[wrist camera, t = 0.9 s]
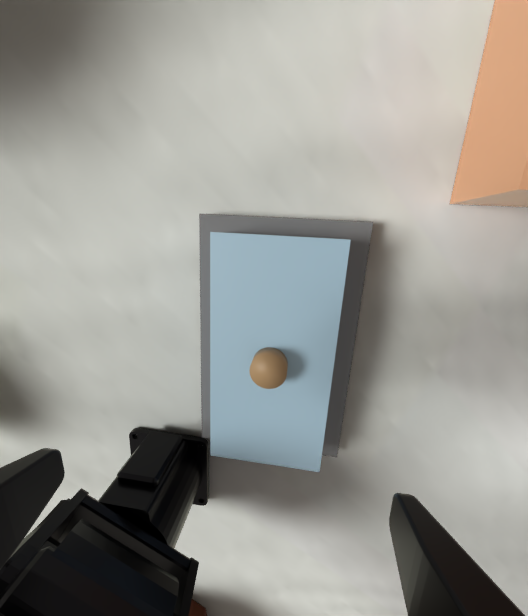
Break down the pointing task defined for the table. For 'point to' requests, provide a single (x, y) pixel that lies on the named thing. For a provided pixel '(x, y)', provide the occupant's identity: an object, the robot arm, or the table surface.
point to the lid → (273, 345)
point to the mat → (349, 313)
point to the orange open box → (498, 116)
